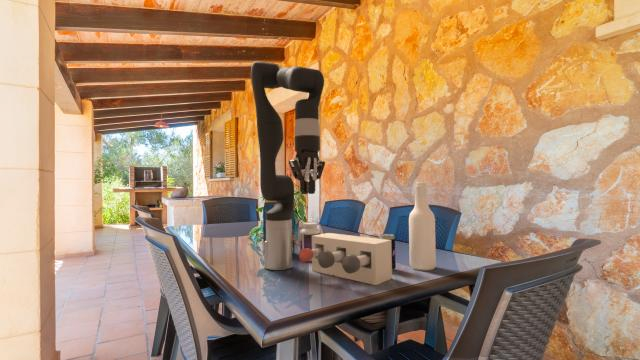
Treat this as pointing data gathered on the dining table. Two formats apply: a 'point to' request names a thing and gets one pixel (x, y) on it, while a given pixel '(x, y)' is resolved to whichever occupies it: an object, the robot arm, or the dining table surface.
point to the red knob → (309, 253)
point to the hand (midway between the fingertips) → (308, 193)
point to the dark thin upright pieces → (268, 206)
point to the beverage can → (392, 238)
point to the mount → (357, 246)
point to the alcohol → (422, 232)
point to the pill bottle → (308, 235)
